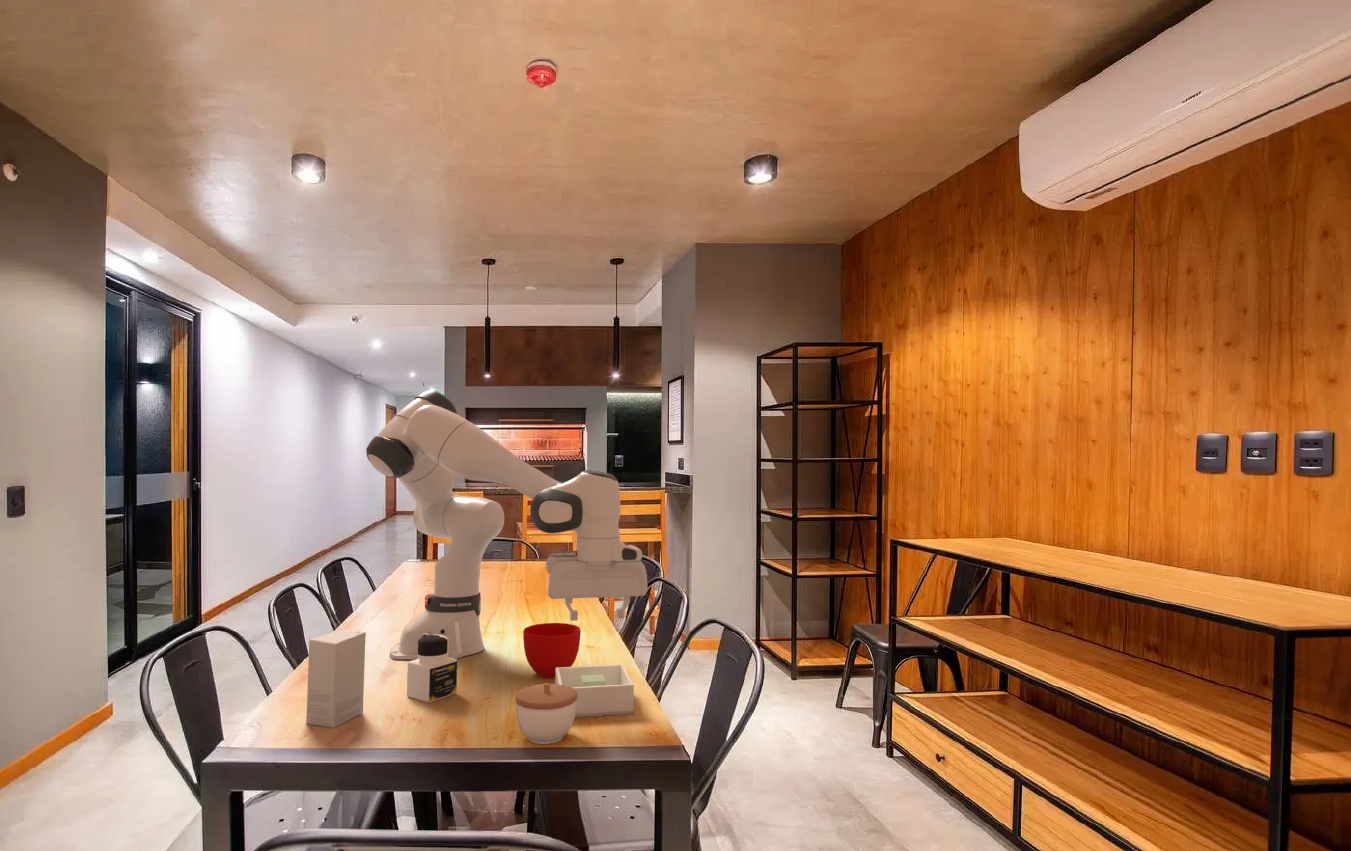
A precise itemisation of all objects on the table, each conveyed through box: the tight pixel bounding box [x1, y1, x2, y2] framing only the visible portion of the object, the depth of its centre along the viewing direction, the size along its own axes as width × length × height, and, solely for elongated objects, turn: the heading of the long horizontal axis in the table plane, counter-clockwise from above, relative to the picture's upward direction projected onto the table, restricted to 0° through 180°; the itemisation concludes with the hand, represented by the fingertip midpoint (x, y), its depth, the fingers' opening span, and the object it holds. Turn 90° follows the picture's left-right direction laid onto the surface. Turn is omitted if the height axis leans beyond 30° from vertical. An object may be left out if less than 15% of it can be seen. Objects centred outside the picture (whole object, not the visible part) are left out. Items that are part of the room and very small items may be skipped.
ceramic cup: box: [522, 622, 582, 679], centre depth 168 cm, size 13×17×10 cm
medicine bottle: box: [406, 635, 458, 704], centre depth 150 cm, size 7×7×12 cm
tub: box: [554, 663, 635, 718], centre depth 146 cm, size 14×14×6 cm
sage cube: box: [580, 674, 606, 687], centre depth 146 cm, size 4×4×4 cm
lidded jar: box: [515, 682, 577, 745], centre depth 128 cm, size 11×11×9 cm
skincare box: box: [305, 629, 367, 729], centre depth 136 cm, size 8×7×16 cm
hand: (597, 619), depth 147 cm, fingers open, 8 cm apart
